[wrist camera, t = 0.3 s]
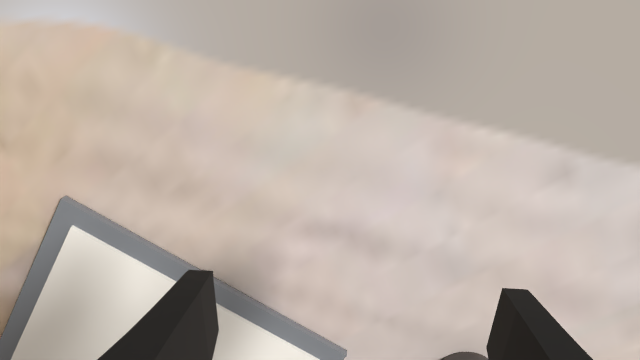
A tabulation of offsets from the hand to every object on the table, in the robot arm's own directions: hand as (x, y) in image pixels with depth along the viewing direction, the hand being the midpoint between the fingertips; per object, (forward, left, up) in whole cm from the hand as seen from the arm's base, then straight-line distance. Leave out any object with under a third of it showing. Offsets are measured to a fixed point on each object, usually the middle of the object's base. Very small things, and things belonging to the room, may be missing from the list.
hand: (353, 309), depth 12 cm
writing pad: (-16, +3, -10) cm, 19 cm away
